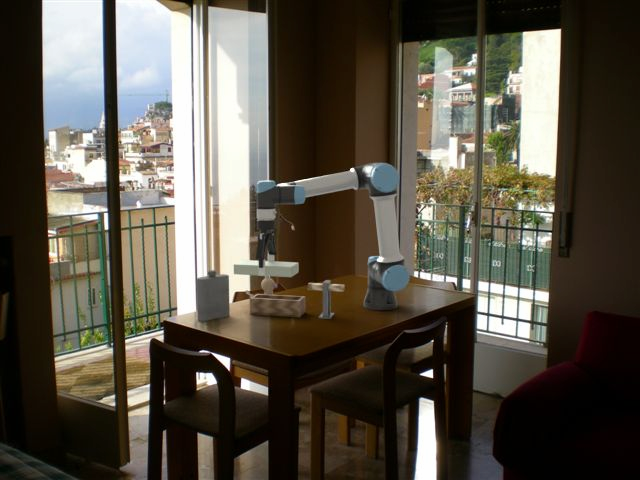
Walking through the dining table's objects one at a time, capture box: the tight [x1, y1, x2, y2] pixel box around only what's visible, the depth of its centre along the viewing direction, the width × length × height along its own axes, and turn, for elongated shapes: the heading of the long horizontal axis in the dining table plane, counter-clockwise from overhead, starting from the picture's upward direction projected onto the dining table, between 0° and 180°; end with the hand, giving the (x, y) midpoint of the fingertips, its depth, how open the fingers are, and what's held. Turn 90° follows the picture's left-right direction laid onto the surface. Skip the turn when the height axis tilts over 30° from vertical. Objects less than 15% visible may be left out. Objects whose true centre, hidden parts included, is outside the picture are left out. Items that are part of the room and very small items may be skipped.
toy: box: [245, 276, 279, 299], centre depth 311 cm, size 6×15×15 cm, turn 78°
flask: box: [196, 269, 230, 322], centre depth 286 cm, size 15×6×20 cm, turn 133°
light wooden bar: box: [307, 282, 346, 293], centre depth 289 cm, size 15×3×3 cm, turn 76°
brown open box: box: [249, 293, 306, 318], centre depth 295 cm, size 22×9×7 cm, turn 76°
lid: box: [233, 259, 300, 278], centre depth 279 cm, size 24×11×4 cm, turn 76°
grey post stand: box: [318, 279, 335, 320], centre depth 290 cm, size 5×8×15 cm, turn 166°
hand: (266, 273), depth 279 cm, fingers closed on lid, 11 cm apart
